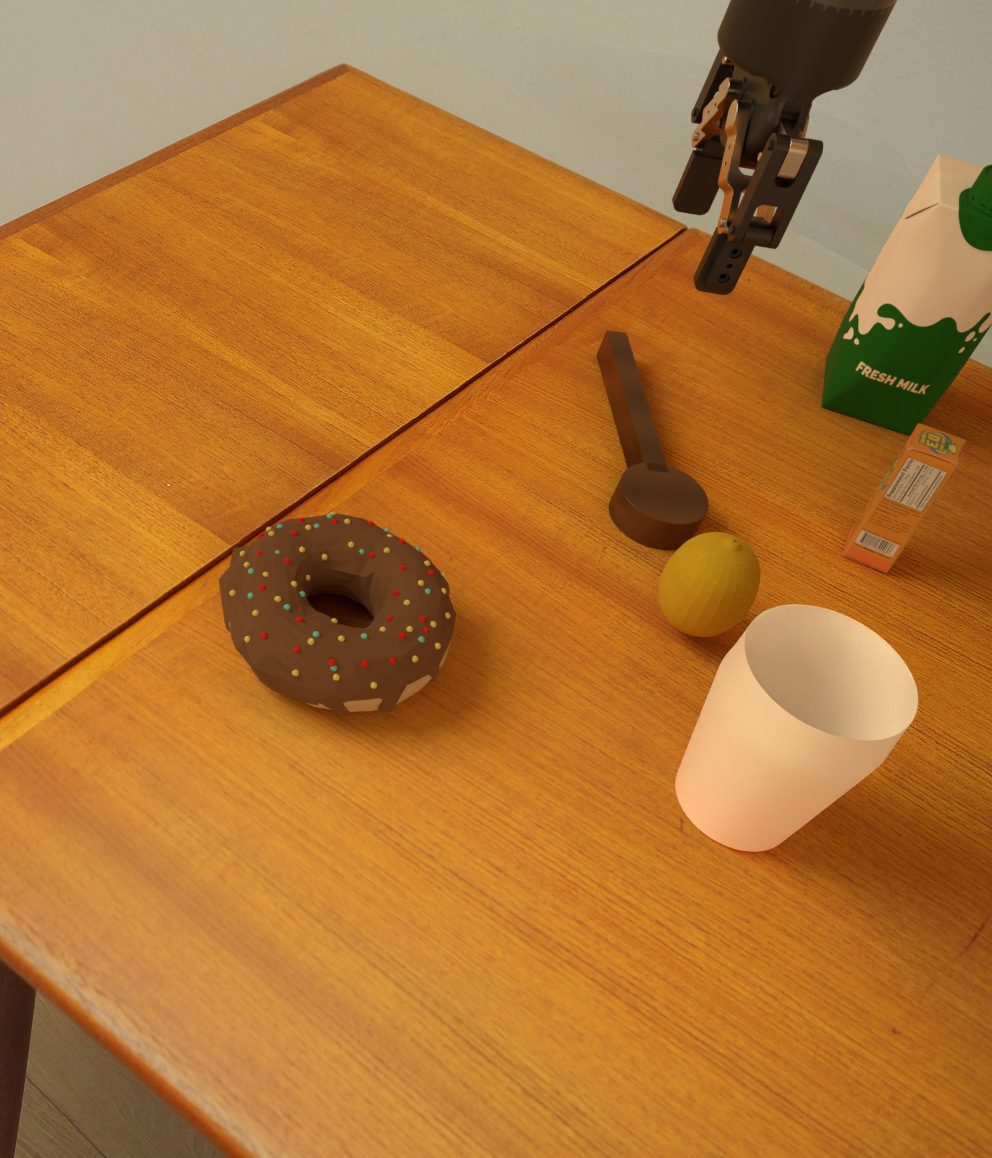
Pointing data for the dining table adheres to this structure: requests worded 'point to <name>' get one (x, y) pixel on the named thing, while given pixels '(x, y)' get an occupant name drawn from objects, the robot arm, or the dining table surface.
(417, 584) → the donut
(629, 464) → the wooden spoon
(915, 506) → the supplement box
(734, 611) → the lemon
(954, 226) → the milk carton
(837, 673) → the cup
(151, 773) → the dining table surface
